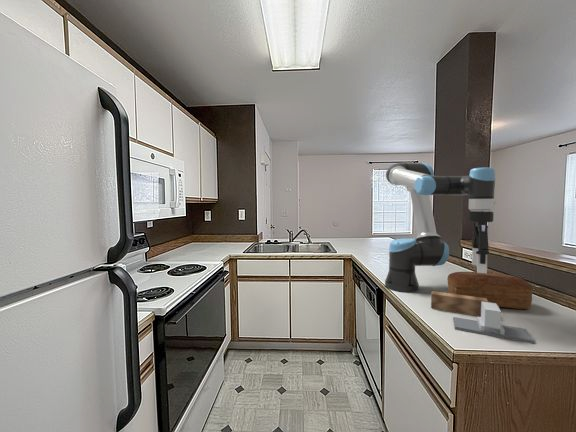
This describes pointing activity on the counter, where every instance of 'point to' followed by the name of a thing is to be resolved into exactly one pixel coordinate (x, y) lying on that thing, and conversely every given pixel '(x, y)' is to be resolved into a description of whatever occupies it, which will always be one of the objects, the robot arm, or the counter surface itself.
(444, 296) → the walnut beam
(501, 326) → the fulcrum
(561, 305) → the counter surface
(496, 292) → the bread
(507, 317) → the counter surface
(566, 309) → the counter surface
